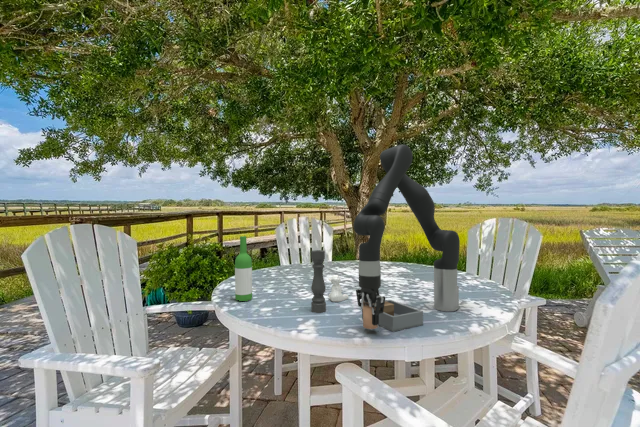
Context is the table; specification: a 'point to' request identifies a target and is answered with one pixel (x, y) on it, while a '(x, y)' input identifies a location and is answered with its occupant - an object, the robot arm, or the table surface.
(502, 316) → the table surface
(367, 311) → the tan cylinder
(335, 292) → the white creature statuette
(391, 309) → the walnut cube
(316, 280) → the candle holder
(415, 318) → the grey tote
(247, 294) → the wine bottle
